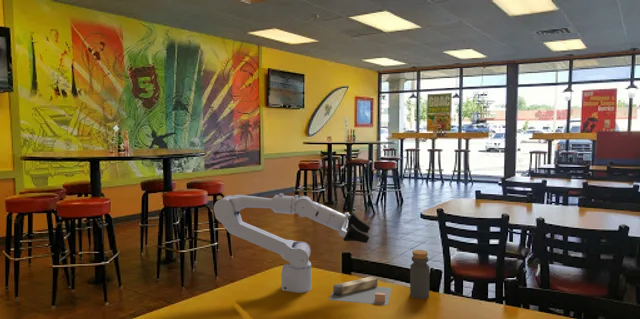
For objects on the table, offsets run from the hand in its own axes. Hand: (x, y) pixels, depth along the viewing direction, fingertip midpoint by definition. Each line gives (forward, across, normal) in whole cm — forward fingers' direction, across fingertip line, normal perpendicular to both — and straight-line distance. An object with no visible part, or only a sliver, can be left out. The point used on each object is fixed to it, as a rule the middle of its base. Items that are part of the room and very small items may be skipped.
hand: (368, 234), depth 140 cm
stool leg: (+3, -4, +18) cm, 18 cm away
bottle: (+22, -6, +10) cm, 25 cm away
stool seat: (+6, -7, +18) cm, 20 cm away
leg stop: (+10, -12, +13) cm, 21 cm away
